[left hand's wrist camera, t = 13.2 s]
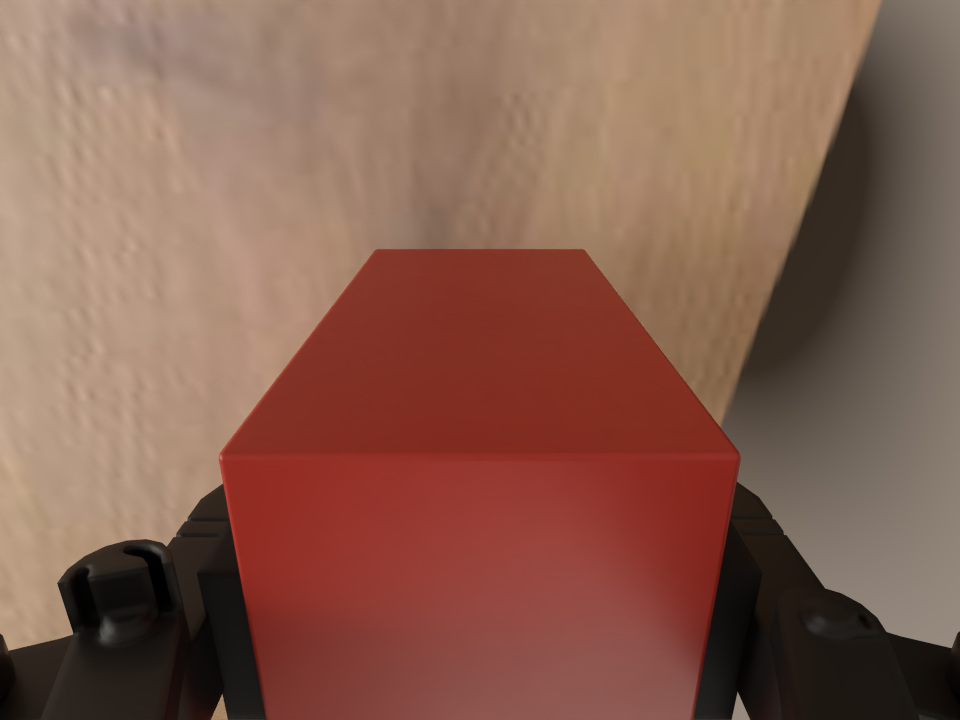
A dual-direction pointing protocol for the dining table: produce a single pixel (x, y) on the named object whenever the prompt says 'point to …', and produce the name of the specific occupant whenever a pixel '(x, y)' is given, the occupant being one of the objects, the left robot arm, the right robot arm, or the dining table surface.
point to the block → (479, 502)
